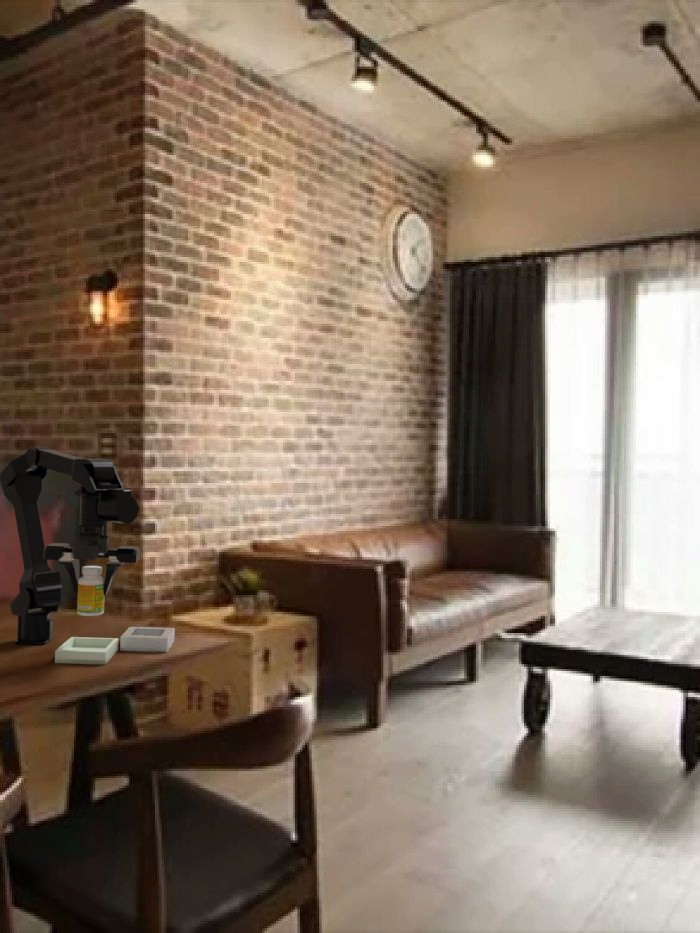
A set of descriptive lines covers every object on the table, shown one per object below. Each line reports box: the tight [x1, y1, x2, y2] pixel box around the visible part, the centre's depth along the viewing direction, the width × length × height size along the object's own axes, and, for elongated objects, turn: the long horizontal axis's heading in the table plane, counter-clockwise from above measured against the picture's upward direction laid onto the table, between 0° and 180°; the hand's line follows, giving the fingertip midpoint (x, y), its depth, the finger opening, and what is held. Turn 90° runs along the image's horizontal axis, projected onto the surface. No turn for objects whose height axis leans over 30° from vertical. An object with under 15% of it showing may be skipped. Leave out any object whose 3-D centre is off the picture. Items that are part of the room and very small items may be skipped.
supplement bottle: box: [76, 565, 106, 617], centre depth 180 cm, size 5×5×10 cm
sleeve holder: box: [119, 626, 176, 653], centre depth 191 cm, size 10×10×3 cm
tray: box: [54, 636, 120, 665], centre depth 180 cm, size 10×12×2 cm
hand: (91, 594), depth 180 cm, fingers closed on supplement bottle, 5 cm apart
